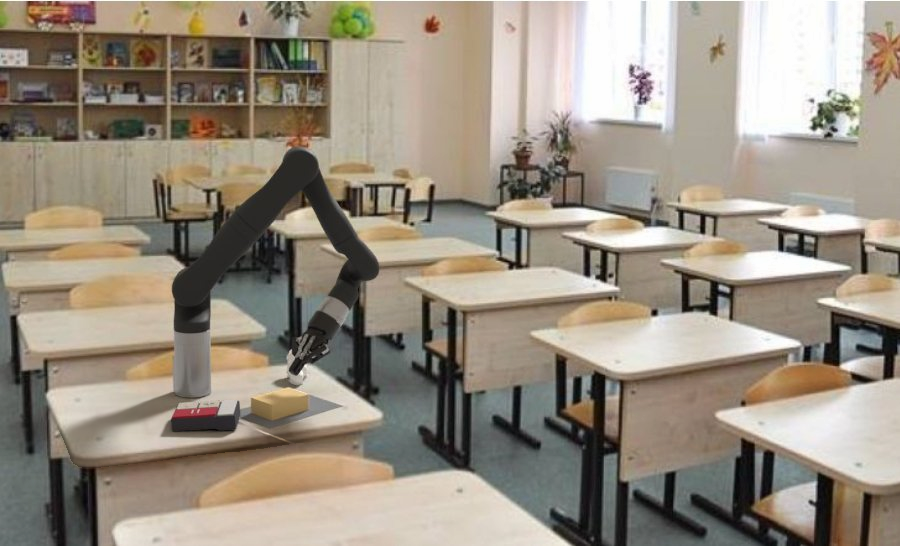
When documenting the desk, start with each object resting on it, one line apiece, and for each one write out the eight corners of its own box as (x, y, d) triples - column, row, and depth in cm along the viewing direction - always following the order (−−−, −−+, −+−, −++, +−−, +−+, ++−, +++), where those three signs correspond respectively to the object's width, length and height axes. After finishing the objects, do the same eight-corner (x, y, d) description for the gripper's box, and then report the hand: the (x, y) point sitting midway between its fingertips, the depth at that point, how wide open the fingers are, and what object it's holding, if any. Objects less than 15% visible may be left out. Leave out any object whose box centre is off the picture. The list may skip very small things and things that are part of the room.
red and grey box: (177, 401, 260) (239, 397, 261) (179, 417, 261) (240, 413, 262) (169, 416, 249) (234, 412, 250) (171, 434, 250) (236, 429, 251)
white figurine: (309, 345, 296) (308, 361, 284) (309, 373, 298) (308, 390, 287) (286, 345, 295) (284, 361, 284) (286, 373, 297) (284, 390, 286)
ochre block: (288, 402, 272) (251, 412, 263) (288, 387, 272) (250, 397, 263) (309, 409, 267) (271, 420, 258) (309, 394, 267) (271, 404, 258)
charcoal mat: (228, 414, 263) (228, 412, 263) (301, 393, 281) (301, 391, 281) (270, 430, 253) (270, 428, 253) (343, 407, 271) (343, 405, 271)
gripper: (303, 305, 275) (267, 360, 268) (338, 314, 267) (301, 371, 260) (318, 321, 280) (283, 375, 273) (353, 331, 272) (317, 387, 265)
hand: (292, 373), depth 267 cm, fingers closed
